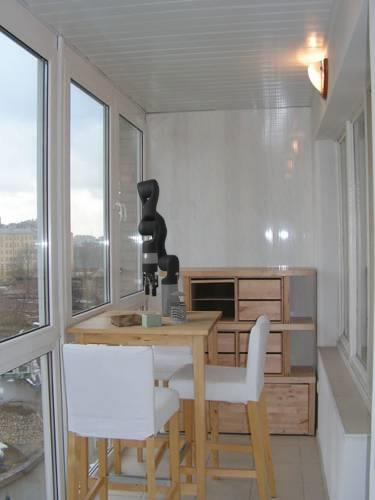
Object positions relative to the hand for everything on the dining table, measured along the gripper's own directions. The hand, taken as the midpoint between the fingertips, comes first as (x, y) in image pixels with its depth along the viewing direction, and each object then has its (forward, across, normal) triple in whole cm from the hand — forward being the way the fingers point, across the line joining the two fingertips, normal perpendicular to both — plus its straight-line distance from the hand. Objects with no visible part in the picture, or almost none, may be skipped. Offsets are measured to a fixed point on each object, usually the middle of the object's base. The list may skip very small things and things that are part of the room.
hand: (150, 295), depth 266 cm
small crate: (+15, 0, 0) cm, 15 cm away
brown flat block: (+15, +12, +8) cm, 20 cm away
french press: (+15, +5, -16) cm, 23 cm away
